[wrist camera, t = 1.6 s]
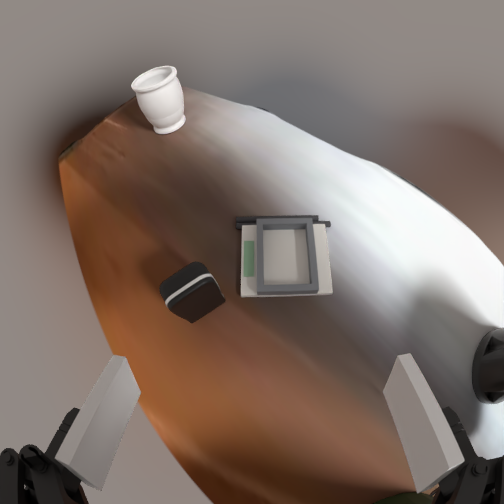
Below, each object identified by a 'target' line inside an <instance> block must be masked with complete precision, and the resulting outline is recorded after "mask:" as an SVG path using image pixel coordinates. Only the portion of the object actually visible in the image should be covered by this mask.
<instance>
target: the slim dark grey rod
mask: <svg viewBox="0 0 504 504" xmlns="http://www.w3.org/2000/svg"><path fill="white" fill-rule="evenodd" d="M272 218H312V221H317V222H313V224H325V227H330V226H331V224H330V221H318V216H255V217H236V222H237V223H236V229H242V225H257V223H249V222H257V221H256V219H272Z"/></svg>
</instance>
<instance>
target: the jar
mask: <svg viewBox="0 0 504 504" xmlns="http://www.w3.org/2000/svg"><path fill="white" fill-rule="evenodd" d="M176 74H177V71H176V68H175V67H172V66H162V67H158V68H154V69H151V70H149V71H147V72H145V73H143V74H141V75H140V76H139V77H137V78H136V79H135V80H134V81H133V83H132V85H131V87H132V89H133V90H134V91H135V92H136V96H137V101H138V104H139V107H140V109H141V111H142V112H143V114H144V115H145V116H146V118H147V120H148V121H149V122H150V123H151V124H152V125H153V126H154V131H155V132H156V133H158V134H168V133H172V132H174V131H176V130H178V129H179V128H180V127H181V126H182V125H183V124H184V123H185V120H186V118H185V115H184V114H183V112H184V102H183V92H182V88H181V85H180V83H179V80H178V79H177V77H176Z"/></svg>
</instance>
